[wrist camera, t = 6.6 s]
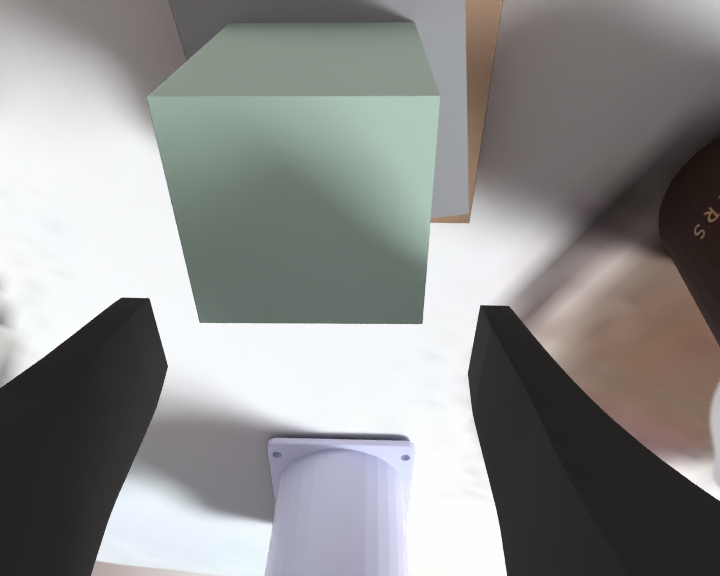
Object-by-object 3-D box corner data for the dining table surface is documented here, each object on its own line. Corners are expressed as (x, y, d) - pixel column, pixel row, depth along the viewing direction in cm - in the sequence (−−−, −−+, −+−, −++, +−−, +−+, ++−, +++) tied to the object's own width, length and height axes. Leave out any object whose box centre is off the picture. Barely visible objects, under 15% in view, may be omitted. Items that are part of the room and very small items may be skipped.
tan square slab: (460, 191, 21) (469, 223, 19) (231, 187, 21) (216, 218, 19) (497, -88, 16) (515, -84, 14) (191, -93, 16) (164, -89, 14)
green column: (406, 191, 16) (422, 323, 11) (252, 191, 16) (200, 322, 11) (414, 22, 13) (440, 95, 8) (229, 22, 13) (146, 96, 8)
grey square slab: (458, 177, 18) (468, 213, 16) (255, 201, 19) (241, 238, 17) (451, -69, 14) (464, -62, 12) (192, -28, 15) (164, -16, 13)
